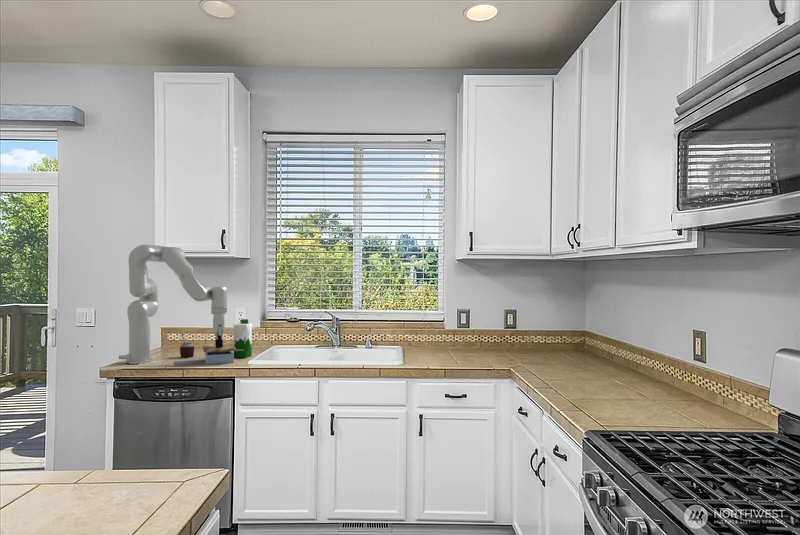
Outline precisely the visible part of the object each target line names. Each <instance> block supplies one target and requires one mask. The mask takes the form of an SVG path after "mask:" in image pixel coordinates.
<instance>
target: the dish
mask: <svg viewBox="0 0 800 535" xmlns="http://www.w3.org/2000/svg"><path fill="white" fill-rule="evenodd" d="M234 360H235V357H234V351H221V352H205V353H204V363H205V365H218V364H230V363H231V364H232V363H233V364H234Z"/></svg>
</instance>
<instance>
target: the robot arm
mask: <svg viewBox="0 0 800 535" xmlns="http://www.w3.org/2000/svg"><path fill="white" fill-rule="evenodd" d="M147 262H155V263H156V262H157V263H165V264H166V266H168V268H170V270H171V271H172V272H173V274H175V275H176V277H177V278H178V279H179V281H180V283H181V286H182V288H183V290H184V291H186V293H187V294H188V295H189V296H190V297H191V298H192V299H193V300H194V301H195V302H205V301H206V302H207V301H211V302H210V303H211V304H210V305H211V307H210V308H211V309H210V310H211V311H210V312H211V315H213V316H212V317H213V318H212V333H213V334H215V345H214V346H216V348H219V347H223V345H224V344H223V343H224V340H223V334H224V333H225V315H226V314H228V289H227V287H226V286H209V285H201V284H200V283H199V280H197V279H196V277H195V276H194V267H193V266H192V265H191V263H190V262H189V261H188V260H187V259H186V252H185V251H184V250H183V249H182V248H180V247H178V246H177V247H175V246H163V245H162V246H161V245H155V244H141V245H137V246H136V247H134V248H133V249H132V250H131V251H130V253H129V255H128V282H129V294H130V295H131V296H132V297H133V298H134V297H135V298H138V299H136V300H134V301H131V302H130V304H128V306H127V310H126V311H127V319H128V354H126V353H125V355H123V354H121V355H120V354H119V355H118V359H119V360H125V362H126V363H125V364H127V363H129V365H139V364H140V365H141V364H145V363H151V362H153V361H154V359H153V358H152V357H151V324H150V323H151V322H150V320H149V319H150V318H151V317H153V316H155V315H156V314H157V312H158V310H159V308H158V307H159V296H158V295H159V294H158V293H159V291H158V286H157V284H156V282H155V281H154V280H153V279H151V278H149V271H148V269H149V268H148V266H147ZM216 338H217V340H216Z"/></svg>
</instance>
